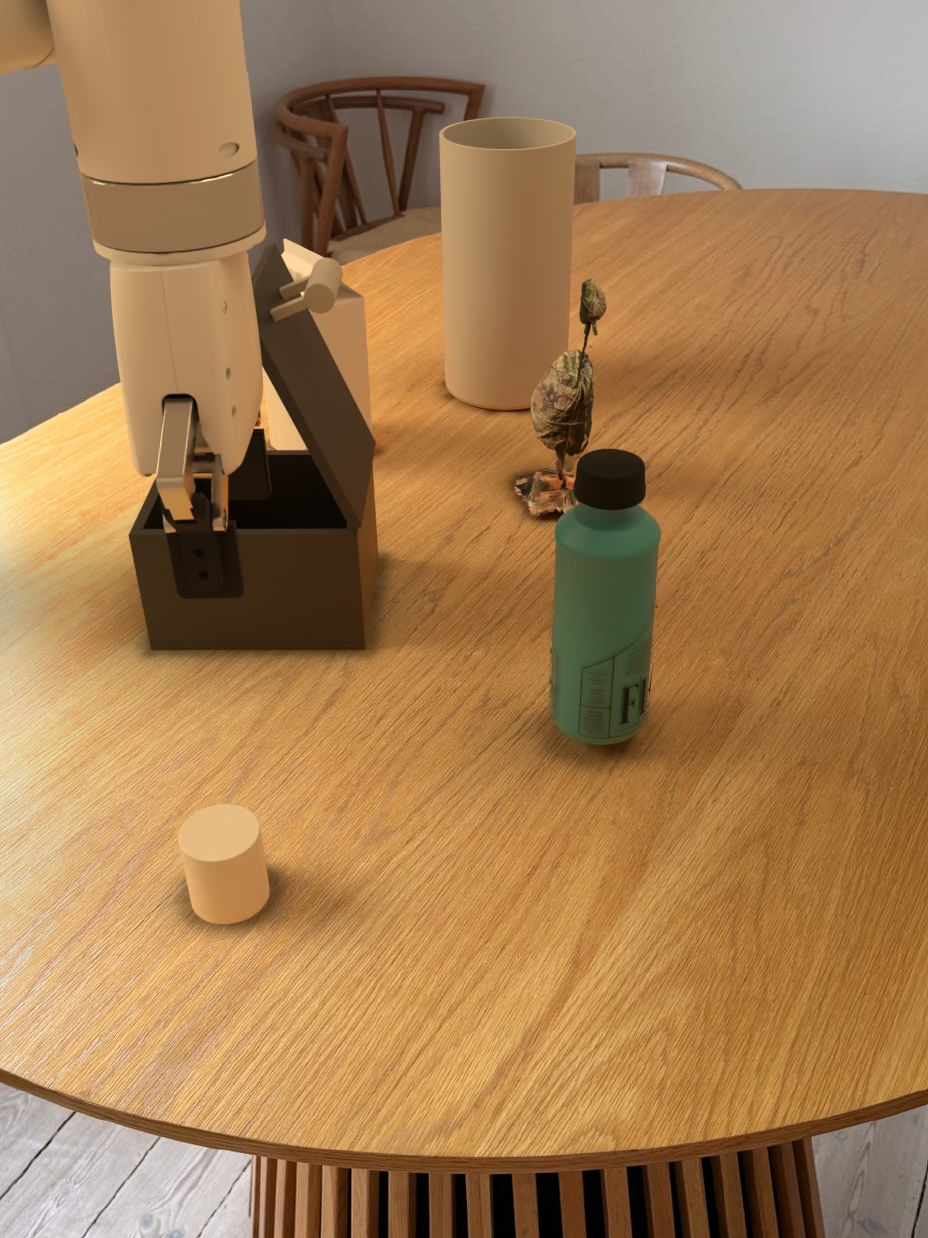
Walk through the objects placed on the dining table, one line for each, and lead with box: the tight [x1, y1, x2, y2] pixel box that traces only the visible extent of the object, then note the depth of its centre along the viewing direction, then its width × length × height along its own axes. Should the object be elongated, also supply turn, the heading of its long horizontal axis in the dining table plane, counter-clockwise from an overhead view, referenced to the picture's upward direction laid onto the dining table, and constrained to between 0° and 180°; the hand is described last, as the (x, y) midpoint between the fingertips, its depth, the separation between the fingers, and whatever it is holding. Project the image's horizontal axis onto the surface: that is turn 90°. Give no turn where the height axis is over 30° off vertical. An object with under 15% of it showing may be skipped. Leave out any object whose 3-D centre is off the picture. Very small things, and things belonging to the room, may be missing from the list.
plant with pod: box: [513, 277, 608, 517], centre depth 101 cm, size 8×11×20 cm
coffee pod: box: [177, 803, 270, 925], centre depth 67 cm, size 4×4×5 cm
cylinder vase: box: [438, 116, 577, 411], centre depth 118 cm, size 12×12×25 cm
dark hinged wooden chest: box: [128, 449, 379, 651], centre depth 90 cm, size 16×13×10 cm
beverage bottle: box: [547, 448, 662, 746], centre depth 74 cm, size 6×7×20 cm
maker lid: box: [251, 243, 377, 530], centre depth 82 cm, size 16×13×5 cm
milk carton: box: [262, 238, 374, 450], centre depth 109 cm, size 7×7×19 cm
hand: (228, 543), depth 63 cm, fingers open, 9 cm apart
